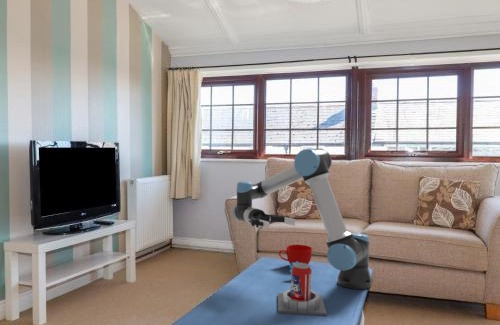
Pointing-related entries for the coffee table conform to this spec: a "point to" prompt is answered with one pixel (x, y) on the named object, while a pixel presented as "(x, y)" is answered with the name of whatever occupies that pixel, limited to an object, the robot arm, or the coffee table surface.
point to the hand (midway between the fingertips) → (281, 223)
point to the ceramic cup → (298, 254)
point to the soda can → (301, 281)
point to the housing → (301, 304)
